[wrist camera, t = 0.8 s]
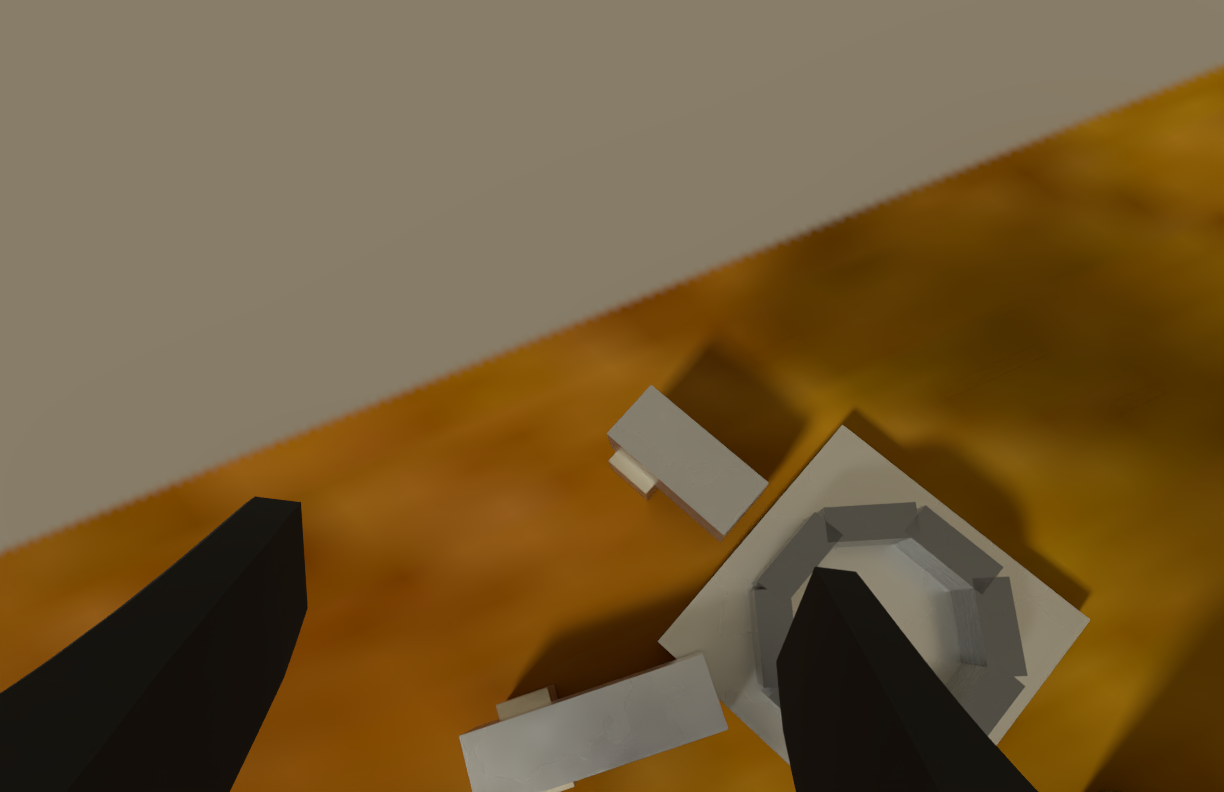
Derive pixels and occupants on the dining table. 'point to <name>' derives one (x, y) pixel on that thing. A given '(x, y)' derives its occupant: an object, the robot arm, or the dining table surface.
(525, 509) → the dining table surface
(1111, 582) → the dining table surface
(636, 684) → the coupling socket
